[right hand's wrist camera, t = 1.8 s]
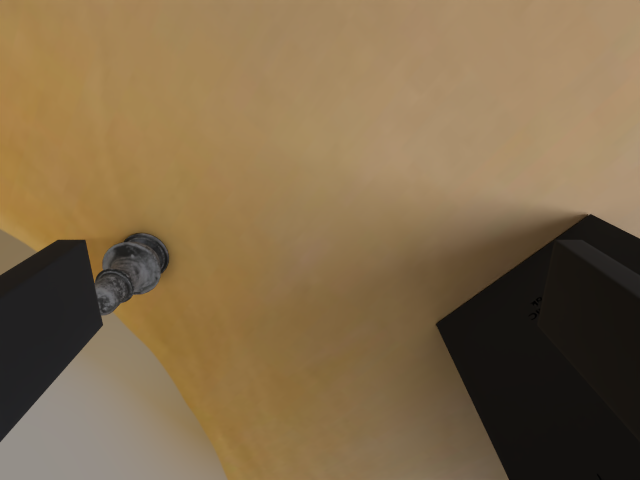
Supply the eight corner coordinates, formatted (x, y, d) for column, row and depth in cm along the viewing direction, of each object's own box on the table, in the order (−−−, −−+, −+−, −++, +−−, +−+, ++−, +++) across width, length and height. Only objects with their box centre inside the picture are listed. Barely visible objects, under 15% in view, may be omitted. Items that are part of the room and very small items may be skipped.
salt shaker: (148, 289, 49) (96, 352, 37) (106, 253, 47) (39, 308, 36) (182, 257, 47) (139, 313, 36) (141, 219, 46) (83, 265, 34)
